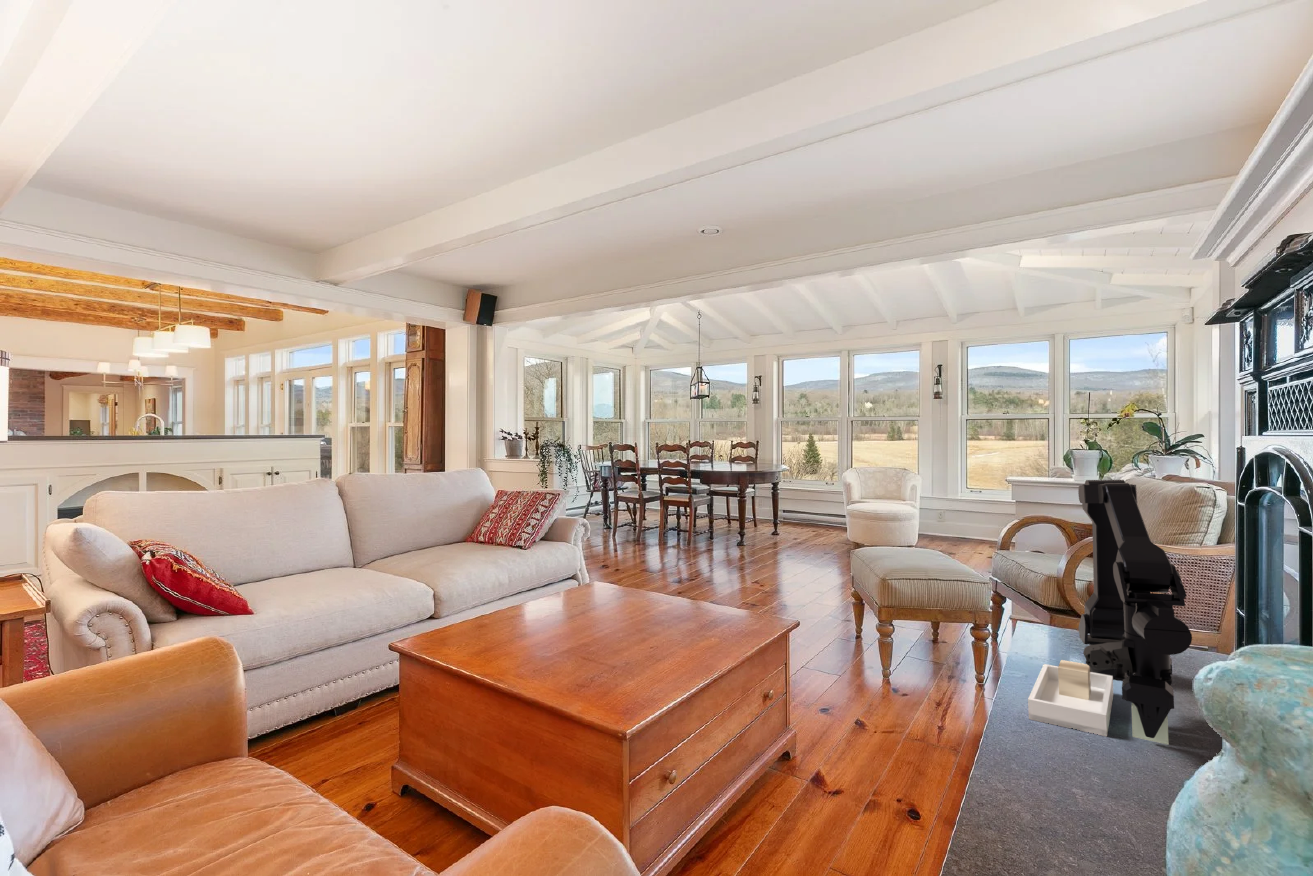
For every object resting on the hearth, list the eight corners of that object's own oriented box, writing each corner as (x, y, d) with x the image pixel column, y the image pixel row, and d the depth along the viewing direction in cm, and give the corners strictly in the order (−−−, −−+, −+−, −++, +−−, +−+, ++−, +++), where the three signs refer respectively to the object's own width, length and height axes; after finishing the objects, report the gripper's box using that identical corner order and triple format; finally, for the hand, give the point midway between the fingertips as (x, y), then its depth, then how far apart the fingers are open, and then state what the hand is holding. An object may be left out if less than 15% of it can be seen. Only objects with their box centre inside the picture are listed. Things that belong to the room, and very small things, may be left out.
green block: (1133, 726, 103) (1132, 696, 103) (1168, 733, 101) (1167, 703, 100) (1132, 737, 100) (1131, 706, 100) (1168, 745, 97) (1167, 713, 97)
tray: (1044, 681, 122) (1043, 664, 122) (1113, 694, 115) (1112, 676, 115) (1028, 719, 107) (1028, 699, 107) (1106, 736, 100) (1106, 715, 100)
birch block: (1062, 685, 117) (1061, 659, 117) (1090, 691, 114) (1089, 664, 114) (1059, 694, 114) (1058, 667, 114) (1088, 700, 111) (1087, 672, 111)
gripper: (1090, 611, 112) (1094, 695, 113) (1081, 641, 98) (1084, 738, 98) (1170, 620, 105) (1173, 711, 105) (1172, 654, 91) (1176, 759, 91)
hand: (1150, 728), depth 100 cm, fingers open, 7 cm apart
